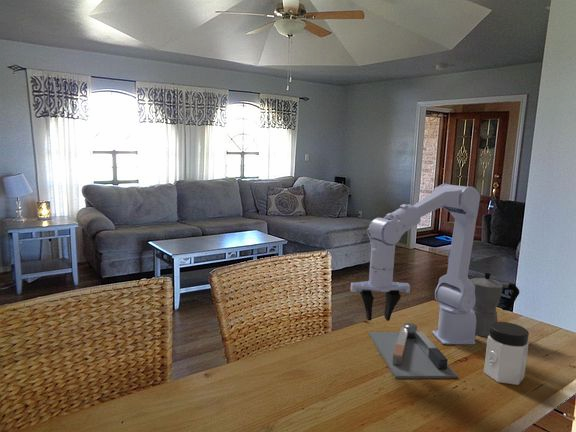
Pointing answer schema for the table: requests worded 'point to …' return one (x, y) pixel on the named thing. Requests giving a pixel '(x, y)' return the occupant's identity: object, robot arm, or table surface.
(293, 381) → the table surface
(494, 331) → the jar
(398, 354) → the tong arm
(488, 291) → the coffeepot
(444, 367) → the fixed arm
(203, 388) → the table surface
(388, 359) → the slate mat
